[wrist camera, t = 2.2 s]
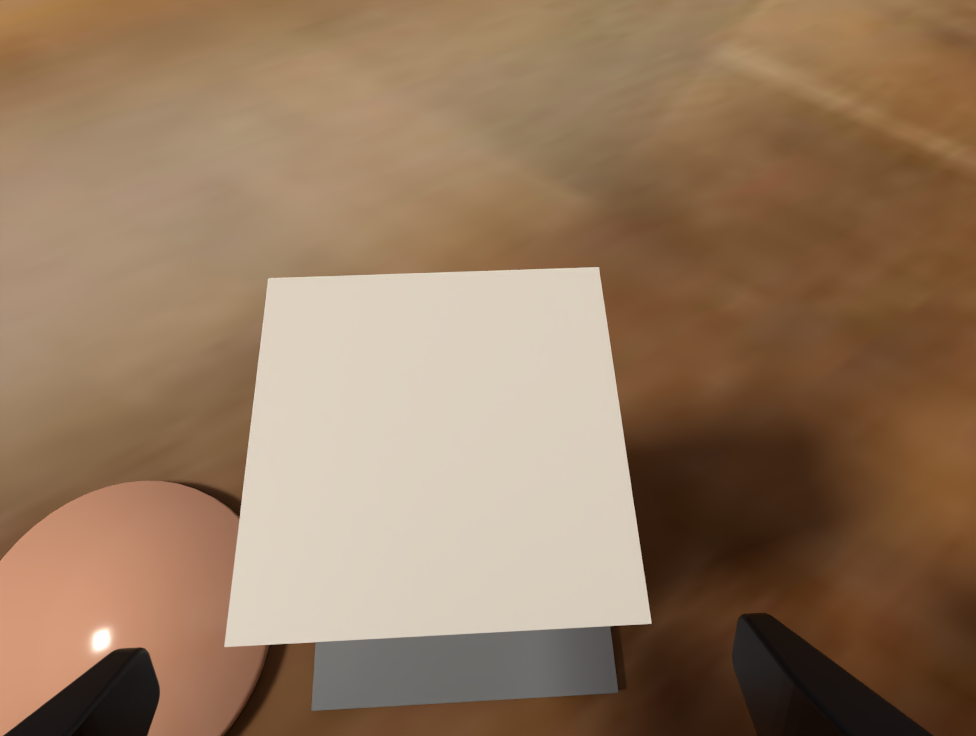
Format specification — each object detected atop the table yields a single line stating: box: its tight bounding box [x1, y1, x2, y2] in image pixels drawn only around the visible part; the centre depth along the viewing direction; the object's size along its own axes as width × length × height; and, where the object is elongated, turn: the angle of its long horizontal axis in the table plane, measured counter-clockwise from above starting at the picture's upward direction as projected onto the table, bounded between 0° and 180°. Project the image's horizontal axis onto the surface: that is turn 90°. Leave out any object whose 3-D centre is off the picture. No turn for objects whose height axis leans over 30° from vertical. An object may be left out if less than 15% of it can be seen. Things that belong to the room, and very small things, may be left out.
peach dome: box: [0, 481, 270, 736], centre depth 18 cm, size 9×9×1 cm
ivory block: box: [224, 267, 652, 647], centre depth 13 cm, size 5×5×12 cm
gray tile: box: [312, 626, 618, 711], centre depth 19 cm, size 9×9×1 cm
